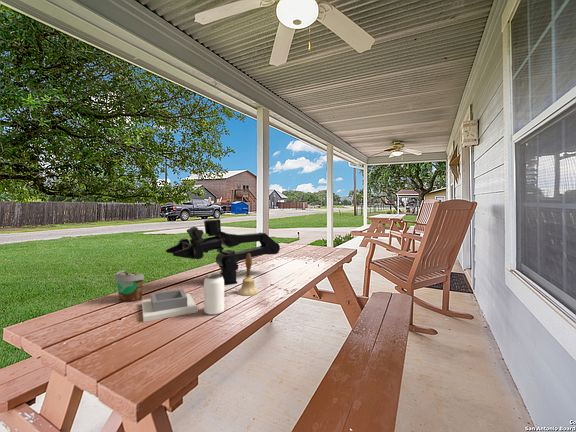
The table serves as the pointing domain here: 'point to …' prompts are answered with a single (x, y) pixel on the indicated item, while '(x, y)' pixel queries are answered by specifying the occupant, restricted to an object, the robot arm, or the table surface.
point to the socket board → (168, 305)
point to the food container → (129, 286)
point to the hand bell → (248, 280)
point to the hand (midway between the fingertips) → (169, 252)
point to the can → (214, 294)
